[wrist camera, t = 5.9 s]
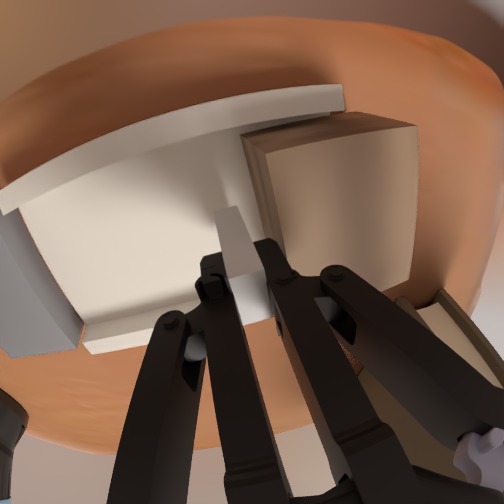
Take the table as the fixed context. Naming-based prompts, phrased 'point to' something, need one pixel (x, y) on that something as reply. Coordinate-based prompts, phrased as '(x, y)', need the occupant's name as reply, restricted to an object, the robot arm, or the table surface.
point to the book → (464, 344)
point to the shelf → (150, 207)
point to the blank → (339, 193)
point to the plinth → (31, 298)
